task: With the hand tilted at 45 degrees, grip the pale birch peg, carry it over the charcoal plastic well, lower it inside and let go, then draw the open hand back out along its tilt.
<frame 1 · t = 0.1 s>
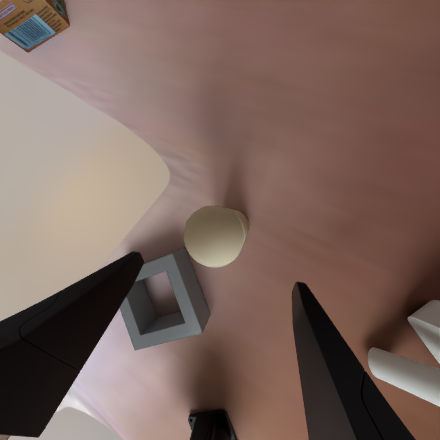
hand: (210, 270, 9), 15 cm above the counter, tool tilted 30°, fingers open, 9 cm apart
milk carton: (43, 13, 30), on the counter
well: (167, 290, 26), on the counter
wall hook: (408, 338, 20), on the counter
birch peg: (233, 225, 24), on the counter
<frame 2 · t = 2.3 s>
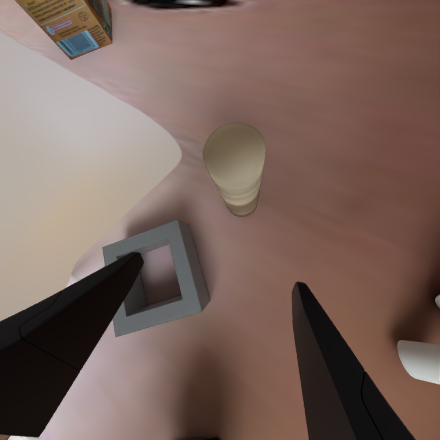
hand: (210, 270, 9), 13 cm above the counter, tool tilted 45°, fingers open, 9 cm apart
milk carton: (92, 35, 37), on the counter
well: (164, 272, 24), on the counter
birch peg: (241, 201, 23), on the counter
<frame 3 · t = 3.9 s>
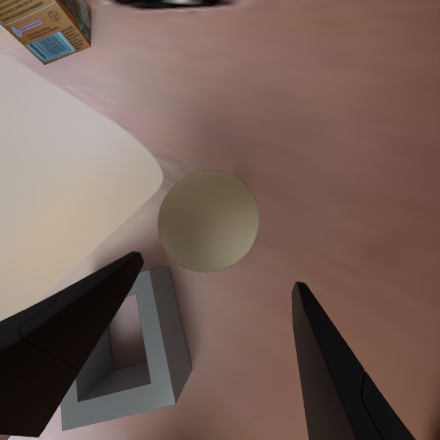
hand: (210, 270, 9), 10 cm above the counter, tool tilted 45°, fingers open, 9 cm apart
milk carton: (69, 38, 33), on the counter
well: (136, 327, 19), on the counter
birch peg: (233, 239, 19), on the counter
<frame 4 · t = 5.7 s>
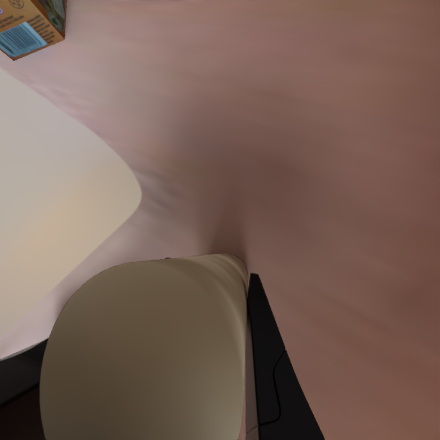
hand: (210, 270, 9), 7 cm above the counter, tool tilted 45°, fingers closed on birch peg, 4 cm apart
milk carton: (42, 30, 29), on the counter
birch peg: (224, 276, 15), on the counter, touching gripper
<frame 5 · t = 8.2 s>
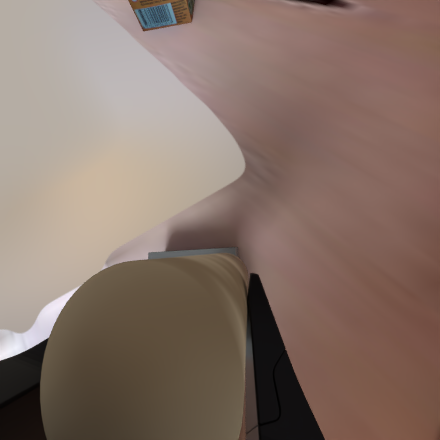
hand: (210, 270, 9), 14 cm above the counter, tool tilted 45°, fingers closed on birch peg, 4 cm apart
milk carton: (170, 8, 34), on the counter
well: (201, 289, 22), on the counter
birch peg: (224, 276, 15), point 7 cm above the counter, touching gripper
when the fingers open (7 cm above the counter, at t = 10.7 s): birch peg stays where it is, resting in well.
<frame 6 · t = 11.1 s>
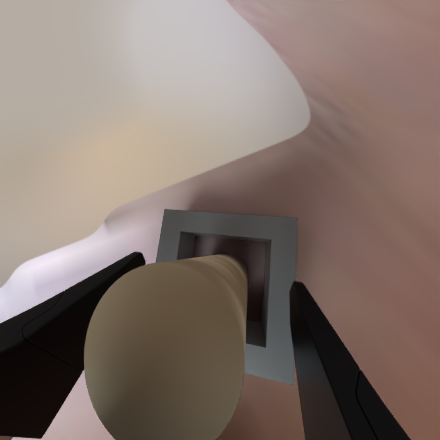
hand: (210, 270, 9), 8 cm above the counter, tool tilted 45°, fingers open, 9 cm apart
well: (226, 275, 16), on the counter
birch peg: (225, 275, 16), resting in well
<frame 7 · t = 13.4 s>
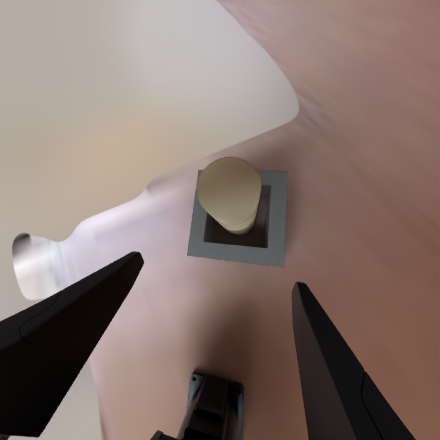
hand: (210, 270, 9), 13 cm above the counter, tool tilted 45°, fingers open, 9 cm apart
well: (239, 219, 23), on the counter
birch peg: (238, 220, 23), resting in well
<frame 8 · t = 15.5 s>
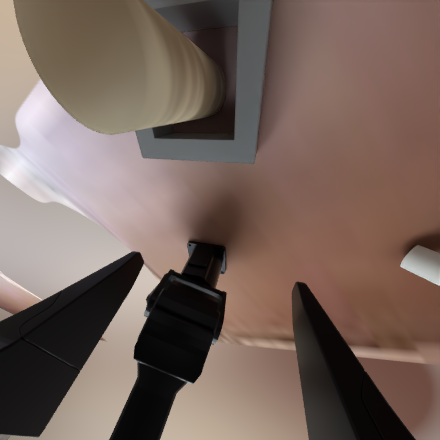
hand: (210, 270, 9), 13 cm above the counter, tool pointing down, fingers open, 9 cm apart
well: (203, 88, 15), on the counter
birch peg: (203, 89, 15), resting in well
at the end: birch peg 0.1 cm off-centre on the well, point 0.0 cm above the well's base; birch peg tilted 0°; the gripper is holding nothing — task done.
